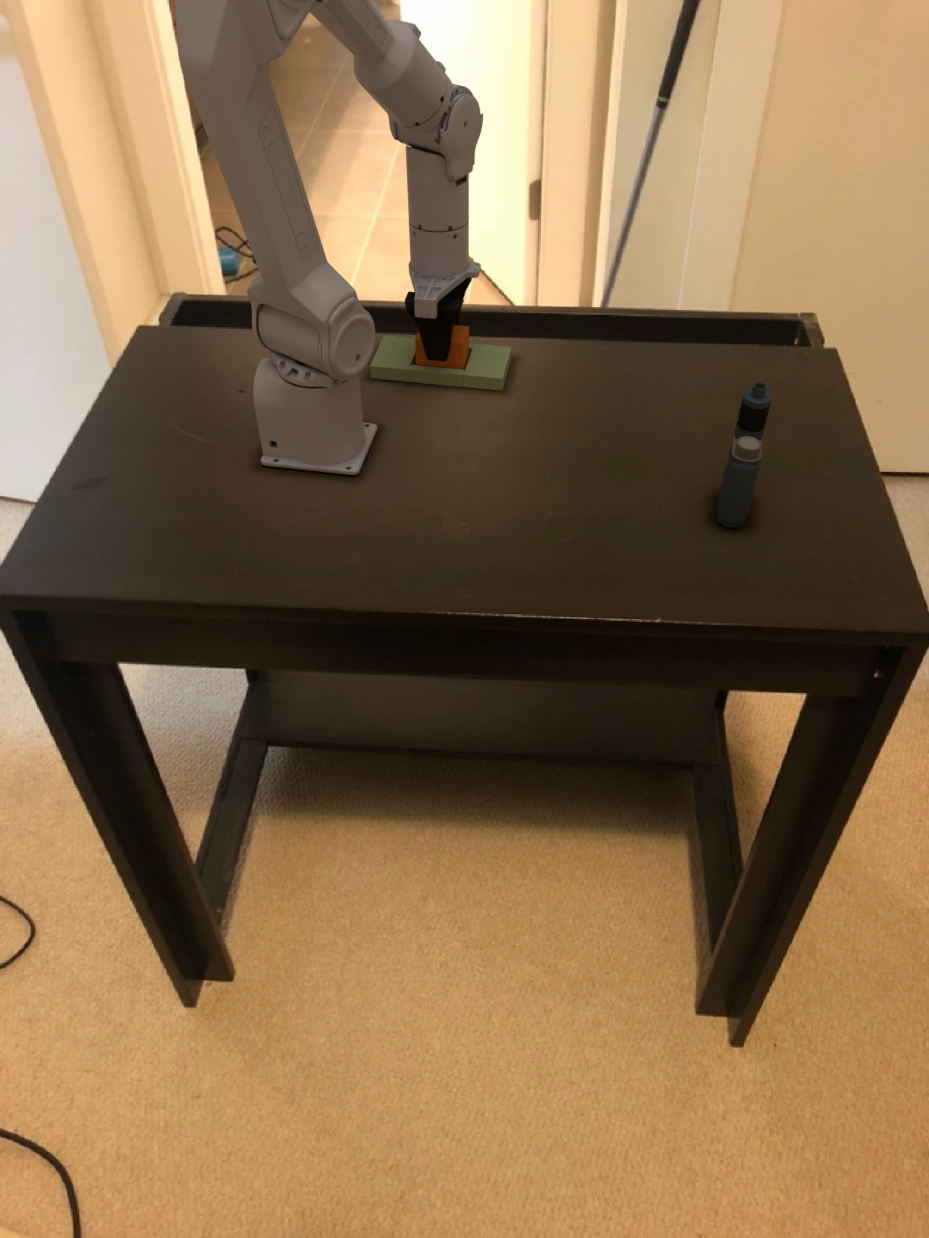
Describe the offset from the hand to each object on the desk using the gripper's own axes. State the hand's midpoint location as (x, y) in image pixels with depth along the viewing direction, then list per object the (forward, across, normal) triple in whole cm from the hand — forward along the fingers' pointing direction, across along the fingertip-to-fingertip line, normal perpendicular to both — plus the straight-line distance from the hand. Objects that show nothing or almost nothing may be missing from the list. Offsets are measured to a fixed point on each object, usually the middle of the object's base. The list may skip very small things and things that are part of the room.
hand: (441, 348), depth 103 cm
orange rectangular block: (+2, 0, 0) cm, 2 cm away
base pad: (+2, 0, 0) cm, 2 cm away
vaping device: (+3, -19, -30) cm, 36 cm away
